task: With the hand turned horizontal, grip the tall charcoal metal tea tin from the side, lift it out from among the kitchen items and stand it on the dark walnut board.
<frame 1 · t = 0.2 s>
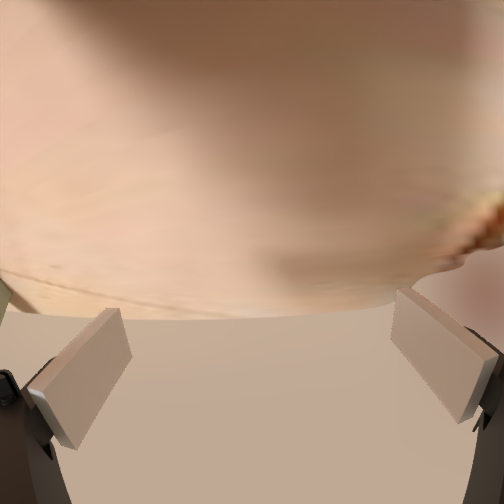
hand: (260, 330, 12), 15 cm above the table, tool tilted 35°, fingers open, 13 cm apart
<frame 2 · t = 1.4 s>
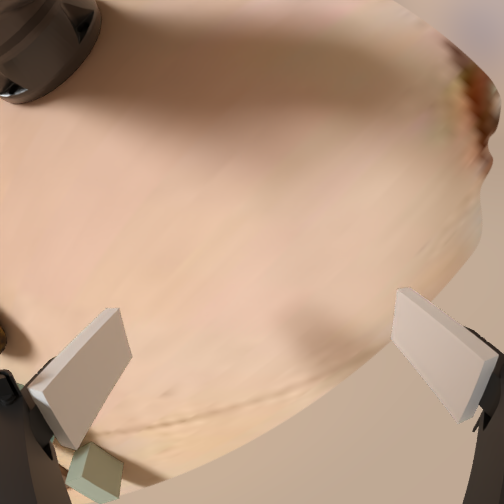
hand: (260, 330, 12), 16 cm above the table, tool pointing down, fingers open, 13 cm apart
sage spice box: (98, 457, 29), on the table
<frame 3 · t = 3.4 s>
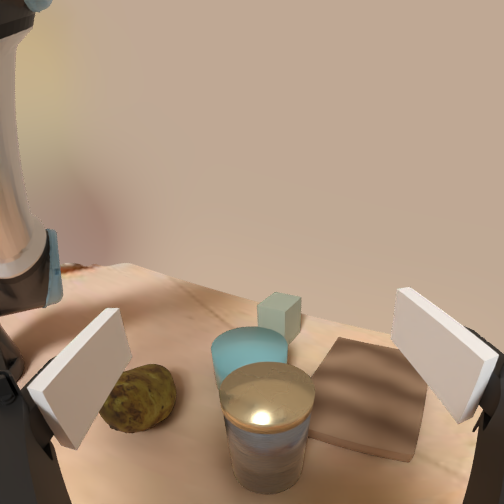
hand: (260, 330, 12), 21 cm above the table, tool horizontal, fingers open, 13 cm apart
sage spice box: (279, 336, 49), on the table
potato: (149, 416, 30), on the table
walnut board: (368, 393, 33), on the table
teal domed cylinder: (251, 379, 38), on the table
tea tin: (267, 467, 23), on the table
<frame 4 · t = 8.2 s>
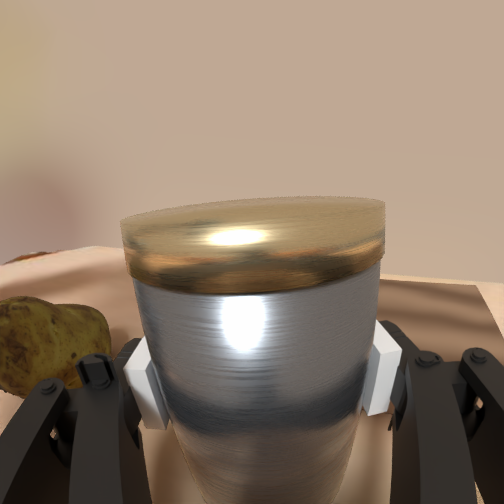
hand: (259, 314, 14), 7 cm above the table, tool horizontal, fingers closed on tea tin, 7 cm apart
potato: (70, 385, 17), on the table
walnut board: (413, 335, 21), on the table
tea tin: (269, 471, 11), on the table, touching gripper
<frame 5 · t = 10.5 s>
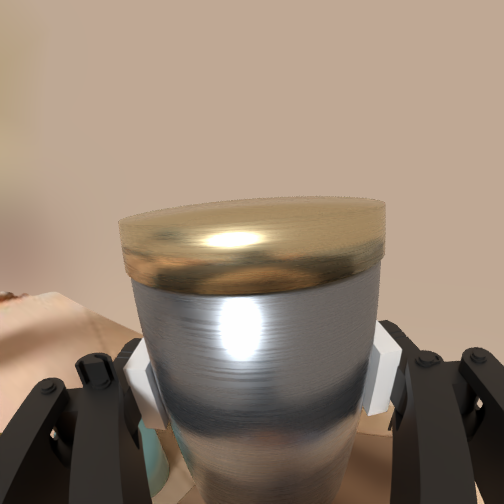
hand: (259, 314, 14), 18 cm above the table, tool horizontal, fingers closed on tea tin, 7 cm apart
teal domed cylinder: (122, 468, 20), on the table
tea tin: (269, 472, 11), point 12 cm above the table, touching gripper
when the fingers open (9 cm above the table, at t = 12.8 s): tea tin drops 1 cm, resting on walnut board.
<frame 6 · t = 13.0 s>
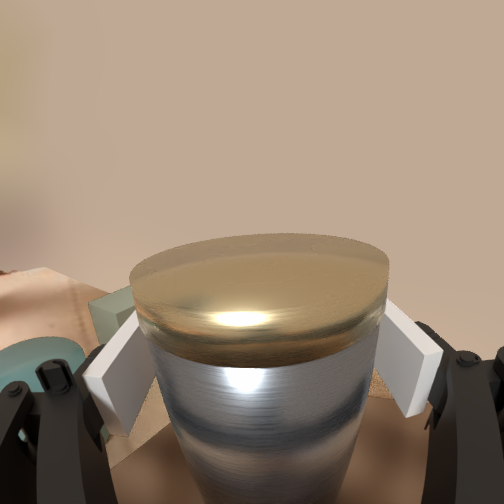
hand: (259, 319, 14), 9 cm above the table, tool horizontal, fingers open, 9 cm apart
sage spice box: (142, 360, 26), on the table
teal domed cylinder: (57, 428, 15), on the table
tea tin: (271, 485, 11), point 2 cm above the table, touching walnut board
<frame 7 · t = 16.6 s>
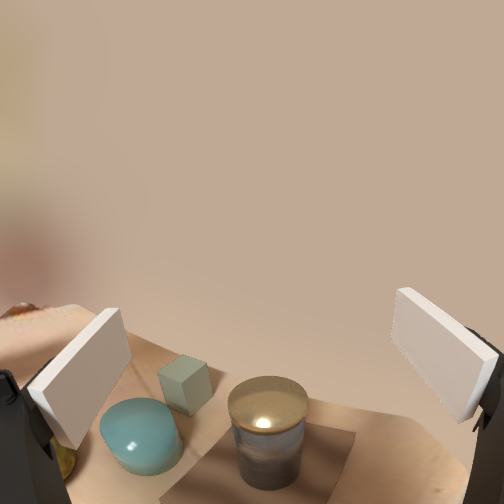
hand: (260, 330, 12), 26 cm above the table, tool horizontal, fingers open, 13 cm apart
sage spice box: (190, 401, 42), on the table
potato: (56, 474, 22), on the table
walnut board: (266, 479, 26), on the table
teal domed cylinder: (148, 449, 30), on the table
tea tin: (270, 468, 26), point 2 cm above the table, touching walnut board
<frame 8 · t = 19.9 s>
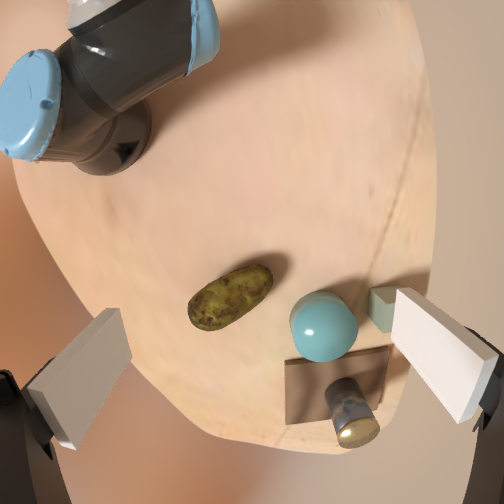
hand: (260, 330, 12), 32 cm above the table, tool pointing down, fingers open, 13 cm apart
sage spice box: (383, 299, 46), on the table
potato: (233, 289, 46), on the table
walnut board: (335, 387, 50), on the table
teal domed cylinder: (318, 318, 47), on the table
tea tin: (341, 391, 49), point 2 cm above the table, touching walnut board
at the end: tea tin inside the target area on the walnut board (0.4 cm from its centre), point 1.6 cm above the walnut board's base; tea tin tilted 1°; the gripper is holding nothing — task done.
